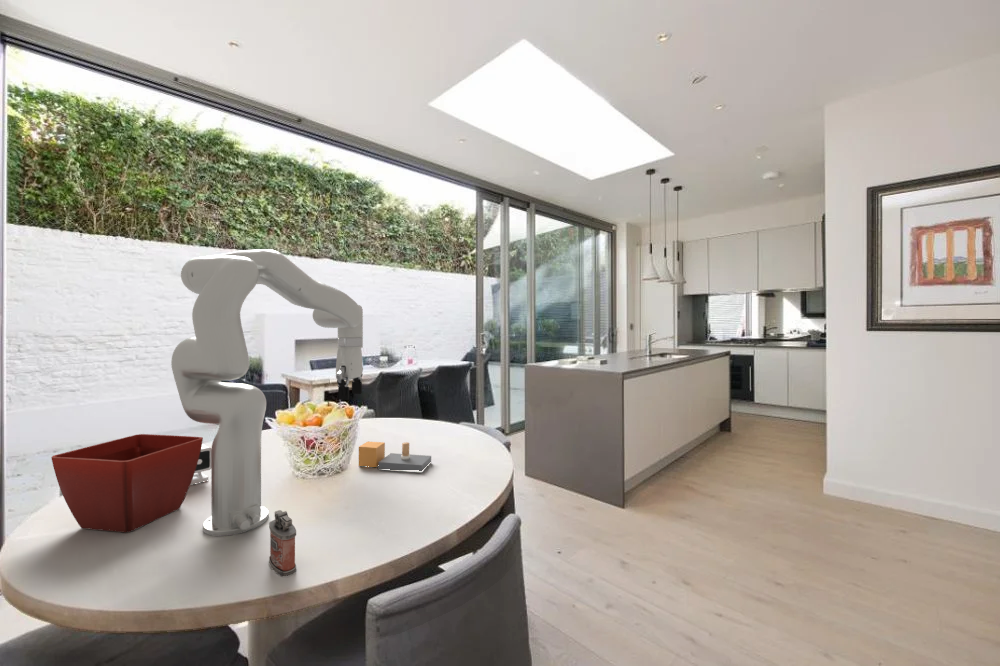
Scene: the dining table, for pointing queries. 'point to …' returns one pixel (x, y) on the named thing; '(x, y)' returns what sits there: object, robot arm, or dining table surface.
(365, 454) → the wooden cube
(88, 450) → the plant pot
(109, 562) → the dining table surface
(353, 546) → the dining table surface
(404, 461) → the grey platform with peg
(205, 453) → the security camera
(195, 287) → the robot arm
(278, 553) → the lighter
